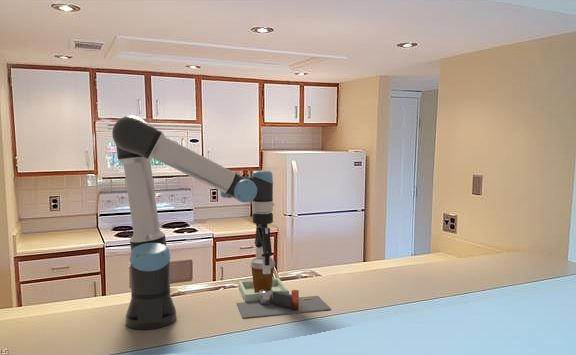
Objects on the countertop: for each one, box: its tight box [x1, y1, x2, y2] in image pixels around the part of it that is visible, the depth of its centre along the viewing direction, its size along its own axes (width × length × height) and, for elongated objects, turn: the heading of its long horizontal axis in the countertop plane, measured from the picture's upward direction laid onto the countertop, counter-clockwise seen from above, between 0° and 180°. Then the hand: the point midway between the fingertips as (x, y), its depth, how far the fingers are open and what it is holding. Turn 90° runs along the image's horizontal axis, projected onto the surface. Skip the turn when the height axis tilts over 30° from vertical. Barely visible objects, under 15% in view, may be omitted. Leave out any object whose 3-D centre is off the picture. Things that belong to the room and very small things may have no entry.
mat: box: [236, 295, 332, 319], centre depth 144 cm, size 30×14×1 cm, turn 105°
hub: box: [259, 289, 311, 305], centre depth 149 cm, size 19×5×4 cm, turn 105°
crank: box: [273, 289, 300, 310], centre depth 142 cm, size 10×2×6 cm, turn 57°
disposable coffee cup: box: [249, 257, 276, 293], centre depth 158 cm, size 10×10×12 cm
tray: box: [238, 277, 290, 302], centre depth 158 cm, size 16×16×3 cm
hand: (262, 268), depth 157 cm, fingers open, 13 cm apart
